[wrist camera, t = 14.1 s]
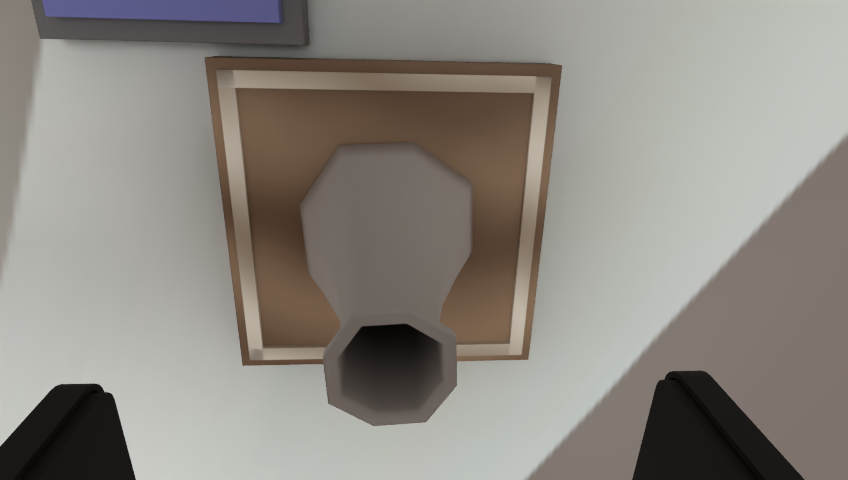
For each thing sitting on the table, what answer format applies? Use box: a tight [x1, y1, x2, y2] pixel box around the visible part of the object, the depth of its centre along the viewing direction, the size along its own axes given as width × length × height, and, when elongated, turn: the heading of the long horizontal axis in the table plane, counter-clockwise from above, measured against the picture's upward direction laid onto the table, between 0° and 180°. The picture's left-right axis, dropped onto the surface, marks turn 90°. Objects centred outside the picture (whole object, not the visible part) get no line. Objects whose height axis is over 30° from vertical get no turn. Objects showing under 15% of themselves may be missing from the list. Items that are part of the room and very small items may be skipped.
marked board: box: [205, 56, 562, 366], centre depth 22 cm, size 13×13×2 cm
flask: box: [300, 142, 473, 426], centre depth 16 cm, size 7×7×10 cm
